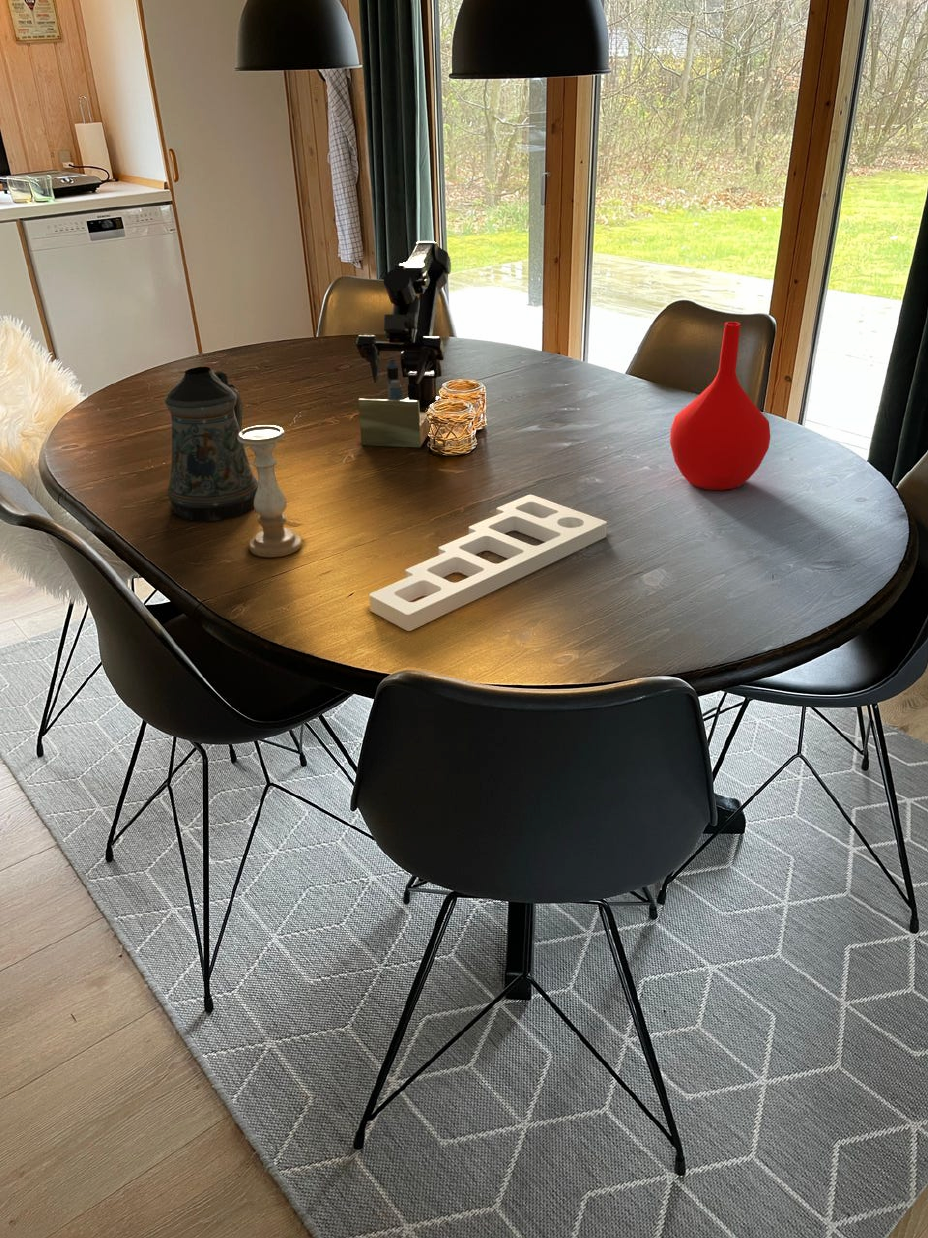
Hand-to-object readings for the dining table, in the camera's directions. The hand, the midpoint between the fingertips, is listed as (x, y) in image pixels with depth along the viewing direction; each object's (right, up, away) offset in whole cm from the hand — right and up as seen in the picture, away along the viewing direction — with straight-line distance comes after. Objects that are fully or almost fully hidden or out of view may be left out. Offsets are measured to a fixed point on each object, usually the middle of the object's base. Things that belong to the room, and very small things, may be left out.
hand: (395, 382), depth 207 cm
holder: (+17, -42, -50) cm, 68 cm away
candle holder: (-17, -39, -43) cm, 61 cm away
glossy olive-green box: (0, -11, +4) cm, 12 cm away
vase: (+63, -25, -22) cm, 71 cm away
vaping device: (0, -7, +3) cm, 8 cm away
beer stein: (-32, -29, -25) cm, 50 cm away
